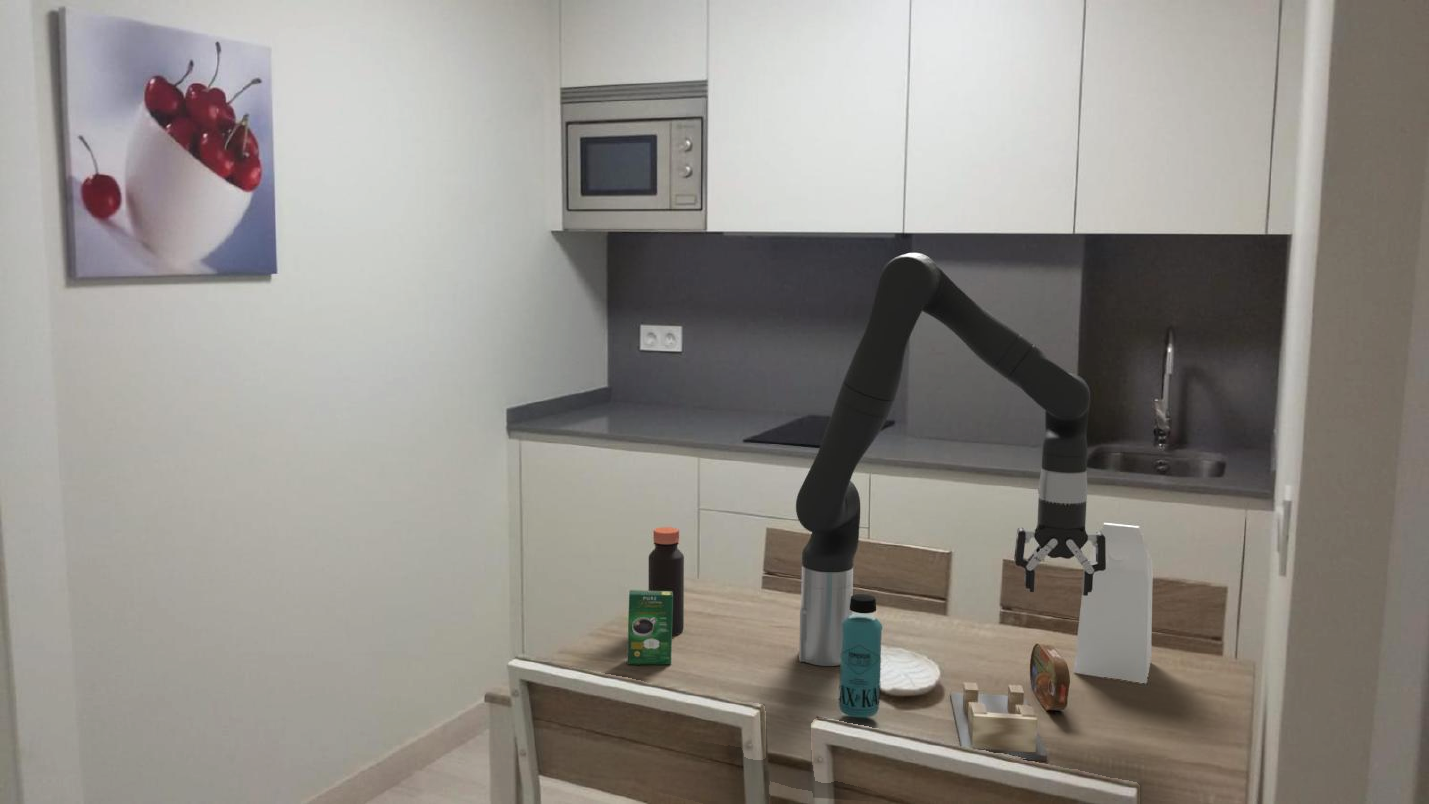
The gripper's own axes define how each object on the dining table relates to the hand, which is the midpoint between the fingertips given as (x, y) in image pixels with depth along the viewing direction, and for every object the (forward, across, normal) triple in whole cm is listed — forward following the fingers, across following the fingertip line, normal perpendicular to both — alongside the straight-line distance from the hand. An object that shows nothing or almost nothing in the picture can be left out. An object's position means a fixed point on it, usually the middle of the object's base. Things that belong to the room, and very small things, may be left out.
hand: (1057, 592), depth 184 cm
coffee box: (+18, -69, 0) cm, 71 cm away
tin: (+18, -1, -3) cm, 18 cm away
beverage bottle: (+18, -31, -17) cm, 40 cm away
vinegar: (+18, -70, +17) cm, 75 cm away
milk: (+18, +12, +15) cm, 26 cm away
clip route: (+18, -10, -15) cm, 25 cm away
